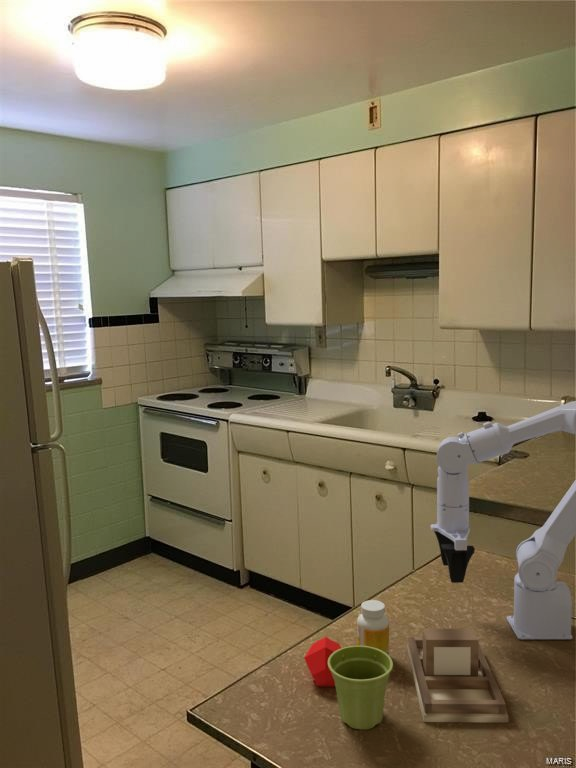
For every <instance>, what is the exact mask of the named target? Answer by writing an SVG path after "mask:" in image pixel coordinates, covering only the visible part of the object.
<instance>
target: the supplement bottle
mask: <svg viewBox="0 0 576 768" xmlns="http://www.w3.org/2000/svg"><path fill="white" fill-rule="evenodd" d="M356 620H357V621H356V631H357V632H356V637H357V638H356V646H369V647H373V648H377V649H380V650H382V651H383V652H385V653H386V654H388V655H389V656H390V621H389V618H388V617H387V615H386V605H385V603H384V602H383V601H379V600H376V599H369V600H368V599H367V600H365V601H363V602H362V603H361V605H360V614H359V615H358V617H357V619H356Z"/></svg>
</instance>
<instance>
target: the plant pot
mask: <svg viewBox="0 0 576 768" xmlns="http://www.w3.org/2000/svg"><path fill="white" fill-rule="evenodd" d="M393 666H394V662H393V660H392V658H391V657H390V654H389V655H388V654H386V653H385V652H383V651H382V650H380V649H377V648H373V647H369V646H357V645H351V646H350V645H349V646H345V647H341V649H338V650H337V651H335V652H333V653H332V654H331V655H330V657H329V659H328V667H329V669H330V671H331V672H332V676H333V678H334V681H335V686H334V687H335V691H336V696H337V697H336V699H337V702H338V704H337V705H338V709H339V714H340V715H339V716H340V719H341V721H342V722H343V723H344V724H347V726H349V727H350V728H351V729H355V730H356V729H357V730H370V729H373V728H374V727H375V726H376V725H377V724H381V722H382V720H383V714H384V708H385V707H384V706H385V697H386V691H387V684H388V682H387V681H388V679H389V678H390V673H391V672H392V671H393V668H394V667H393Z"/></svg>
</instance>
